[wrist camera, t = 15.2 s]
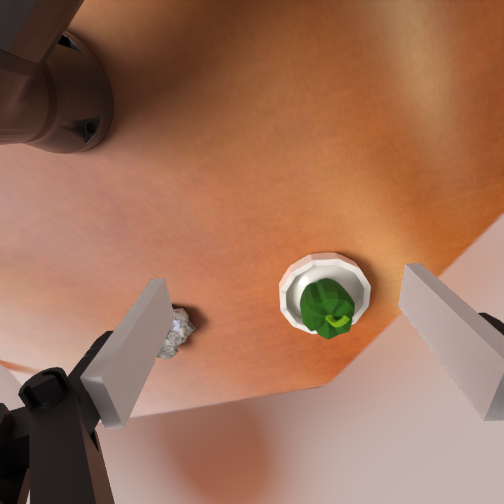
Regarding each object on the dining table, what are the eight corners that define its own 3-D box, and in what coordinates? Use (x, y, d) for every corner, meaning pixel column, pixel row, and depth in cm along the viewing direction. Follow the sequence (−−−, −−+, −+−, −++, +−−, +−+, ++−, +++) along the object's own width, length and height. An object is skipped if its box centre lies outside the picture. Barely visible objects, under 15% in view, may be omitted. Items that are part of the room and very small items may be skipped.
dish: (281, 325, 52) (282, 335, 50) (277, 255, 46) (278, 262, 43) (360, 321, 51) (365, 331, 49) (367, 249, 45) (374, 256, 42)
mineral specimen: (129, 312, 53) (177, 291, 49) (163, 347, 57) (209, 330, 54) (113, 334, 48) (165, 312, 44) (151, 372, 52) (202, 355, 48)
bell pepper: (307, 317, 50) (317, 359, 41) (289, 282, 47) (295, 320, 38) (351, 300, 48) (372, 340, 39) (335, 263, 45) (353, 298, 36)
